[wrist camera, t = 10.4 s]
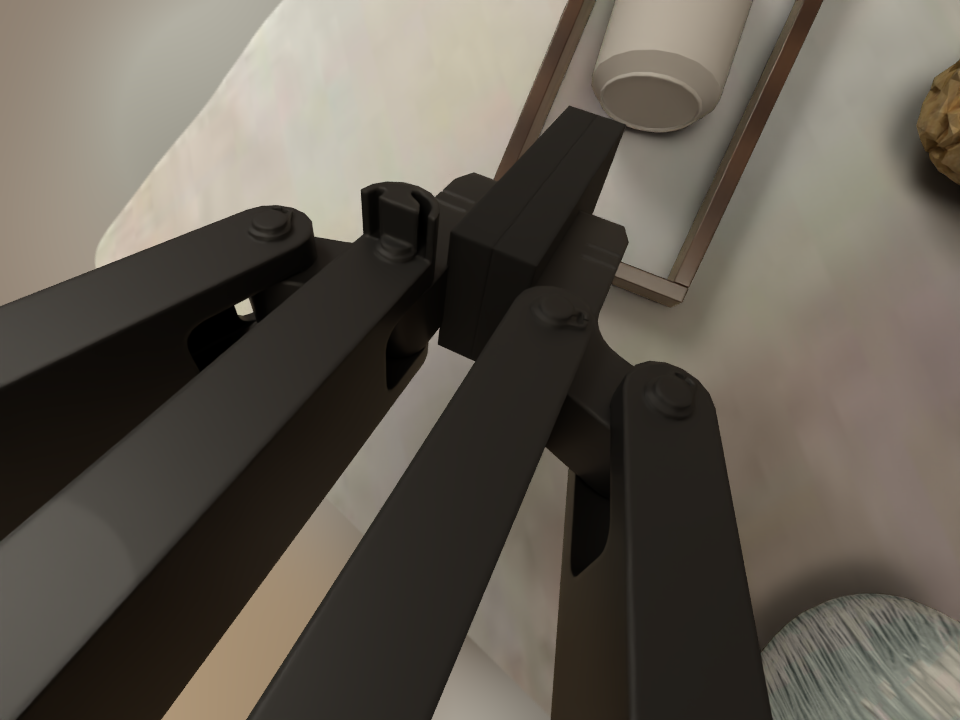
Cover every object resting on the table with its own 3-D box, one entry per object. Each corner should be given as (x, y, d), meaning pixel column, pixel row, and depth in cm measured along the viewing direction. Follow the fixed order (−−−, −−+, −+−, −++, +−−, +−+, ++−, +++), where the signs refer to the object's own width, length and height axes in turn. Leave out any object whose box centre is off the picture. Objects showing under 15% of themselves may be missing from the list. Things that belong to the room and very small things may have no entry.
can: (562, 89, 28) (623, -110, 27) (634, 146, 32) (689, -25, 31) (667, 48, 22) (750, -211, 21) (739, 125, 26) (811, -88, 25)
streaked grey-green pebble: (824, 856, 26) (914, 963, 18) (693, 686, 32) (716, 709, 23) (988, 700, 28) (1143, 734, 19) (836, 562, 33) (906, 541, 24)
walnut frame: (623, -100, 31) (629, -149, 28) (835, -47, 28) (867, -93, 25) (483, 233, 33) (475, 221, 30) (670, 307, 31) (682, 303, 28)
